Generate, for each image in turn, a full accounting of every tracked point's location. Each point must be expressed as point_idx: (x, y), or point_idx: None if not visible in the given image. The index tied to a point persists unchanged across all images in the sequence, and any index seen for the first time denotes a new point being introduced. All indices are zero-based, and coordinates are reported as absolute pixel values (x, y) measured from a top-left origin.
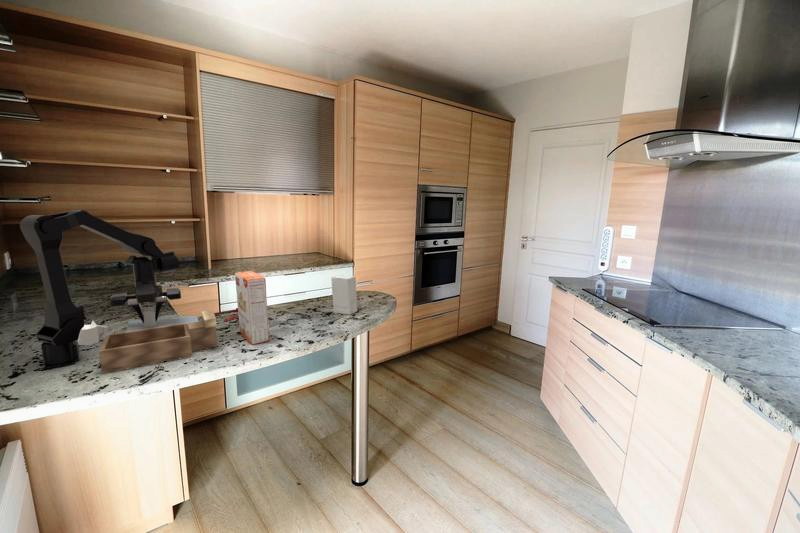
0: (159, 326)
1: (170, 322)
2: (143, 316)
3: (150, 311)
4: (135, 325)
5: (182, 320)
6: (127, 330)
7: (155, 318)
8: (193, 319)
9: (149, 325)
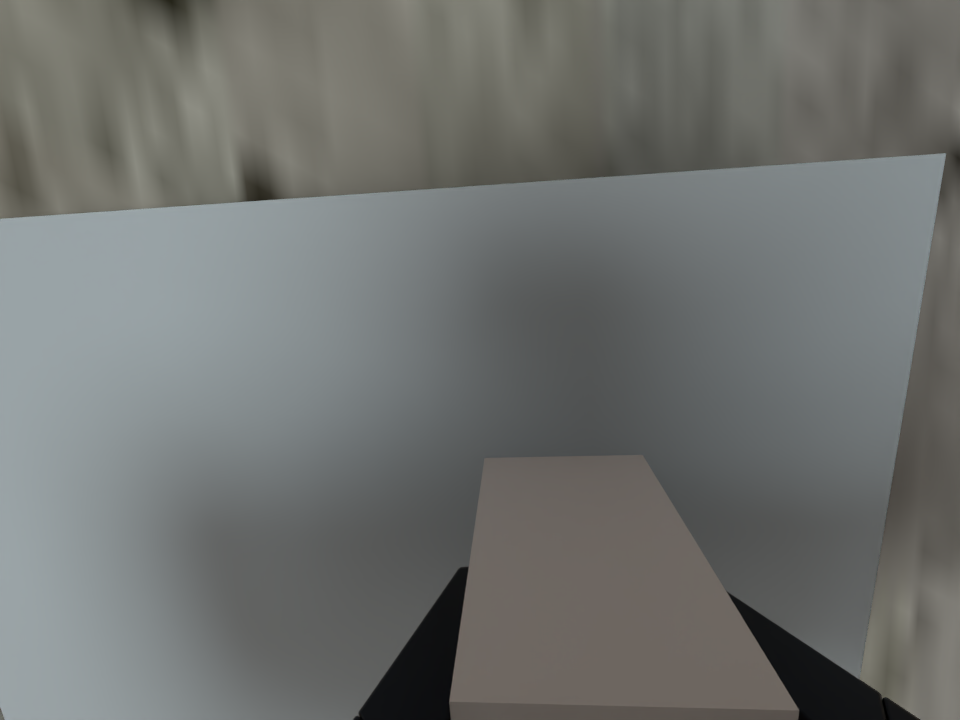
0: (422, 401)
1: (293, 565)
2: None
3: (584, 698)
4: (764, 571)
5: (149, 610)
6: (899, 324)
7: None
8: (15, 611)
9: (568, 465)
